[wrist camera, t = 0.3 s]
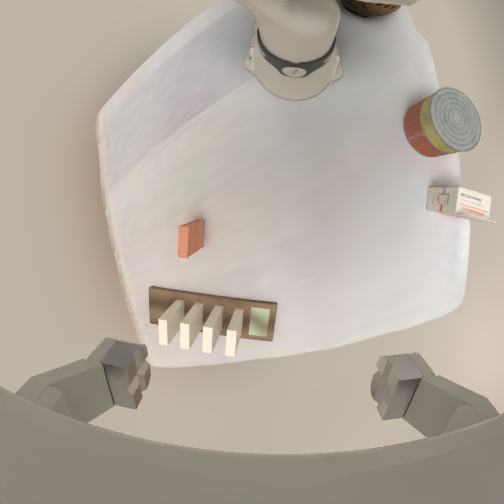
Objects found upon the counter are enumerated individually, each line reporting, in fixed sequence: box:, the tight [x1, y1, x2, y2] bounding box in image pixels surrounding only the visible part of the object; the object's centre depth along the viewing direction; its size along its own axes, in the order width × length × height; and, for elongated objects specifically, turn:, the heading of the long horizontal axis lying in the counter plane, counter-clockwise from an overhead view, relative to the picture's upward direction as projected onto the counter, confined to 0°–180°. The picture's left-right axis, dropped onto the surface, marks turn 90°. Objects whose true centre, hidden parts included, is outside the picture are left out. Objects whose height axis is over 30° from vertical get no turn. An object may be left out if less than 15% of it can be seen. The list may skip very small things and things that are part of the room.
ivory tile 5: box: [158, 299, 184, 346], centre depth 54 cm, size 2×5×10 cm, turn 175°
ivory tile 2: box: [225, 308, 244, 357], centre depth 53 cm, size 2×5×10 cm, turn 175°
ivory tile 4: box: [180, 302, 204, 350], centre depth 54 cm, size 2×5×10 cm, turn 175°
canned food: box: [403, 88, 481, 157], centre depth 42 cm, size 11×11×12 cm
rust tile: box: [178, 220, 204, 258], centre depth 52 cm, size 2×5×10 cm, turn 175°
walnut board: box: [149, 286, 277, 341], centre depth 59 cm, size 8×26×1 cm, turn 85°
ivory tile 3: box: [202, 305, 224, 353], centre depth 53 cm, size 2×5×10 cm, turn 175°
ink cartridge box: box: [427, 186, 497, 223], centre depth 43 cm, size 9×5×15 cm, turn 84°
